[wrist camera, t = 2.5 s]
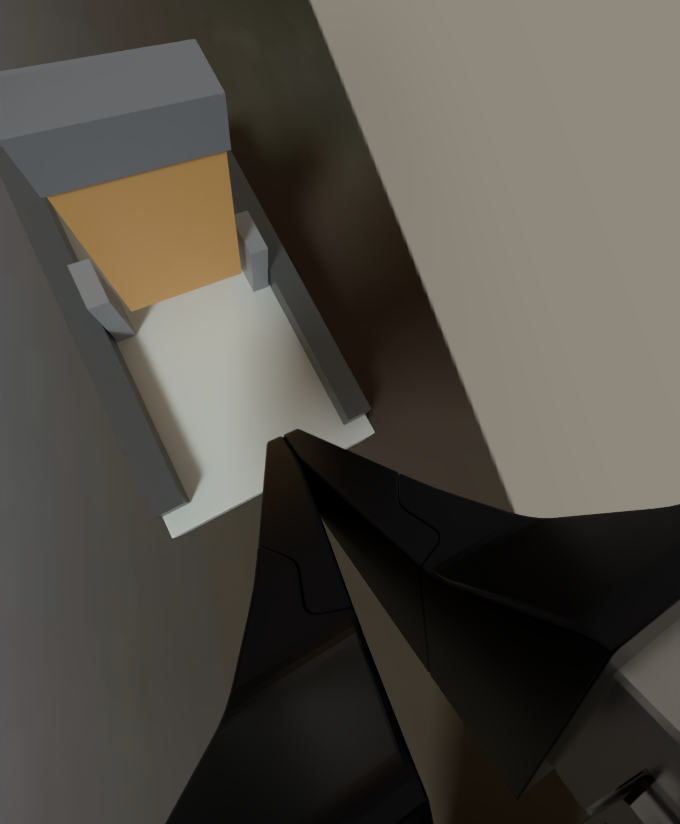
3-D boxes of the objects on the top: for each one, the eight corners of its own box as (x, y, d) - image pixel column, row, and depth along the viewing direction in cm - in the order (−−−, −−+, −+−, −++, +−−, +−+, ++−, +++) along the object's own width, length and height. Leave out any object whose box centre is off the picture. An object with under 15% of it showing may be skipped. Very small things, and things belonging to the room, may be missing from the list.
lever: (245, 275, 17) (224, 93, 9) (130, 315, 16) (-3, 140, 8) (228, 242, 17) (194, 38, 10) (113, 280, 16) (-32, 76, 8)
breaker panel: (360, 441, 21) (394, 420, 15) (187, 532, 18) (150, 547, 13) (209, 159, 23) (189, 47, 18) (37, 203, 21) (-53, 89, 15)
